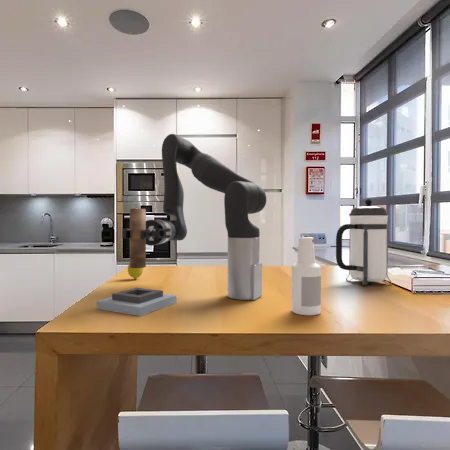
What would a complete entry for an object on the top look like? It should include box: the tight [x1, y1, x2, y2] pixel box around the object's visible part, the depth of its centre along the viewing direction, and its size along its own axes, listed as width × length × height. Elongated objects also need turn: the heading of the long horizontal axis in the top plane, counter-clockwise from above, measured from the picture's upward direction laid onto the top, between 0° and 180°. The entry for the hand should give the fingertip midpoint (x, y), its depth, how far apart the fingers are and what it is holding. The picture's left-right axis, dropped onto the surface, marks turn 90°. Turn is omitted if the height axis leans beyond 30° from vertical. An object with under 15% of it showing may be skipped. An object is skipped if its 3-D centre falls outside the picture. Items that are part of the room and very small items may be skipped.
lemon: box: [127, 262, 144, 280], centre depth 125 cm, size 6×6×8 cm
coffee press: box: [335, 198, 392, 287], centre depth 117 cm, size 17×16×30 cm
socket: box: [96, 287, 177, 317], centre depth 85 cm, size 14×14×4 cm
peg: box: [129, 208, 147, 269], centre depth 85 cm, size 4×4×15 cm
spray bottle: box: [291, 236, 322, 316], centre depth 80 cm, size 7×7×18 cm
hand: (133, 234), depth 83 cm, fingers closed on peg, 4 cm apart
